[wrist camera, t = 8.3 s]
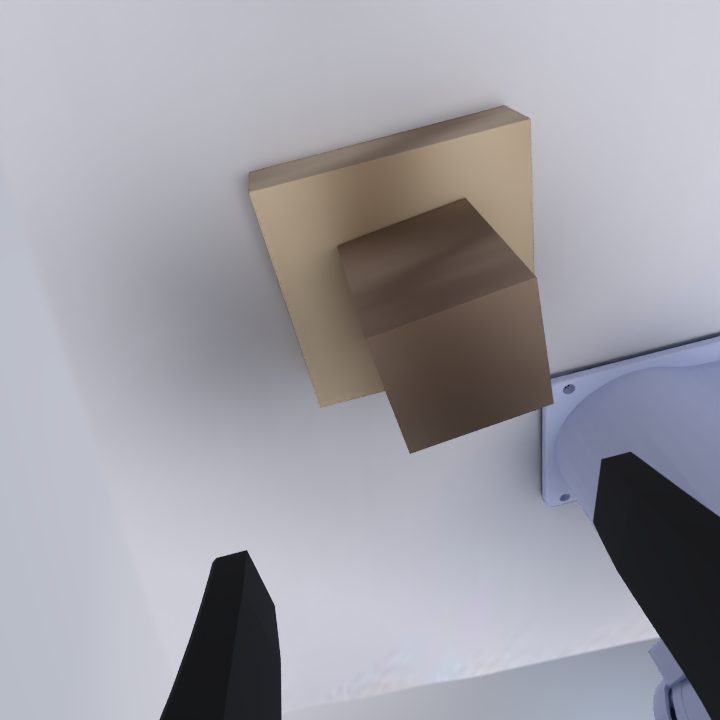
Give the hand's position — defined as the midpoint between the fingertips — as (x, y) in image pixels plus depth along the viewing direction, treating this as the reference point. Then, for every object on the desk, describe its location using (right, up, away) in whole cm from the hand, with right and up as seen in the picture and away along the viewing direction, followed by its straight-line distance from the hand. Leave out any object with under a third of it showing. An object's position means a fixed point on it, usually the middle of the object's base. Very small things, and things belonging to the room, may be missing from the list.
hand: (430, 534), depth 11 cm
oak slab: (0, +7, +8) cm, 11 cm away
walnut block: (0, +6, +6) cm, 9 cm away
